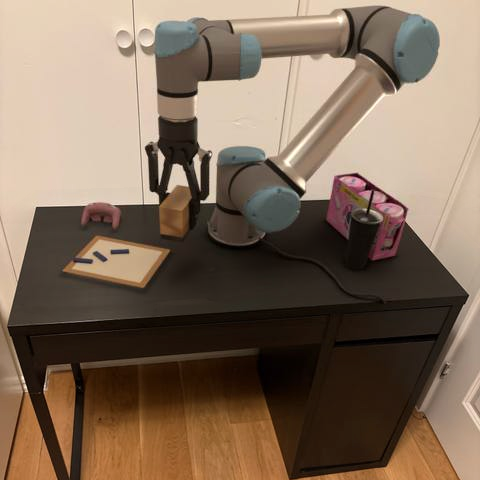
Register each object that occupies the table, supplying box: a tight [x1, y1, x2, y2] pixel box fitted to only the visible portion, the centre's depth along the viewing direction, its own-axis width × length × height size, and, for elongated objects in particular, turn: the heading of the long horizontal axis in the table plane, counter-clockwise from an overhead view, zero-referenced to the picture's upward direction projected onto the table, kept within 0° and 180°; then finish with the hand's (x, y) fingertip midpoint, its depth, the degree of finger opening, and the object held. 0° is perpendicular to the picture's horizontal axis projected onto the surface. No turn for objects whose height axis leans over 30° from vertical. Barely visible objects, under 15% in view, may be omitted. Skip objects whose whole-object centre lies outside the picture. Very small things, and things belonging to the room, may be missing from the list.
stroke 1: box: [72, 257, 93, 264], centre depth 119 cm, size 4×1×1 cm, turn 86°
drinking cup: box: [345, 190, 383, 271], centre depth 122 cm, size 8×8×20 cm
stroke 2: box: [93, 251, 107, 262], centre depth 121 cm, size 4×1×1 cm, turn 45°
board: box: [61, 235, 171, 289], centre depth 122 cm, size 20×17×1 cm
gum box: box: [325, 172, 410, 261], centre depth 134 cm, size 24×8×14 cm, turn 24°
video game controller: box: [80, 201, 122, 229], centre depth 134 cm, size 10×5×7 cm, turn 84°
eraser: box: [158, 184, 200, 243], centre depth 110 cm, size 5×11×8 cm, turn 166°
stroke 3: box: [110, 249, 129, 254], centre depth 123 cm, size 4×1×1 cm, turn 100°
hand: (180, 224), depth 111 cm, fingers closed on eraser, 5 cm apart
